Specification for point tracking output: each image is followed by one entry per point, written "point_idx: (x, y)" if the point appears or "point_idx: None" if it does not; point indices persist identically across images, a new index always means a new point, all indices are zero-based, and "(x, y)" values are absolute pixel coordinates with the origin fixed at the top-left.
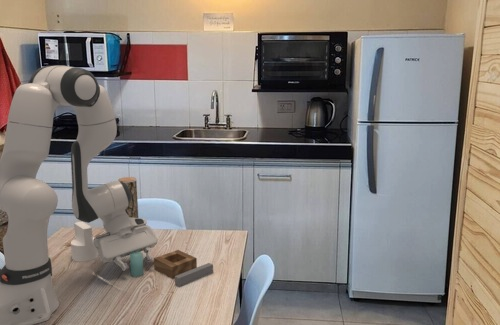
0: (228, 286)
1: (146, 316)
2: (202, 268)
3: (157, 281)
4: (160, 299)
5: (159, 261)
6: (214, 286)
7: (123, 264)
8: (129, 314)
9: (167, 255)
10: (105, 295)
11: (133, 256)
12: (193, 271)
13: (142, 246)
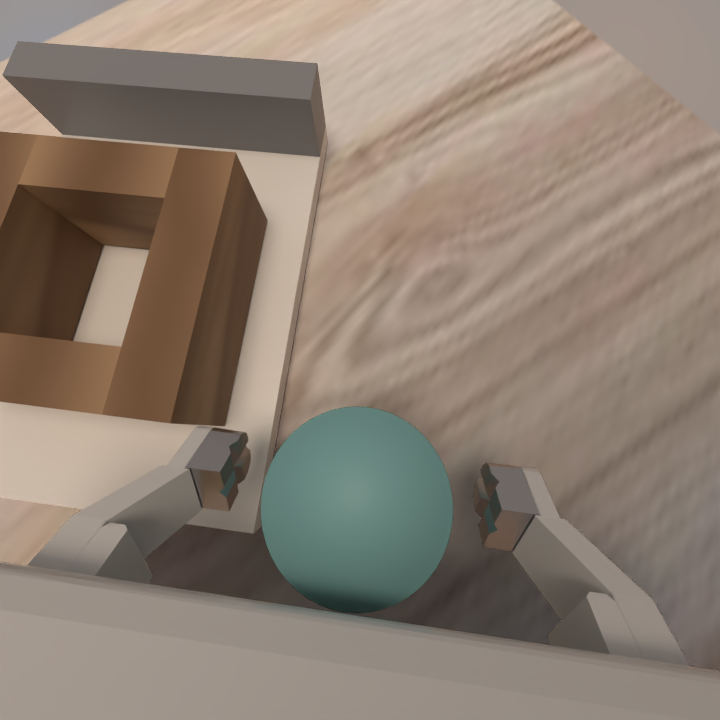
0: (154, 9)
1: (608, 82)
2: (106, 50)
3: (321, 308)
4: (459, 144)
5: (196, 328)
6: (189, 50)
7: (548, 505)
8: (663, 148)
9: (46, 363)
10: (668, 420)
11: (431, 473)
12: (178, 61)
13: (129, 599)
